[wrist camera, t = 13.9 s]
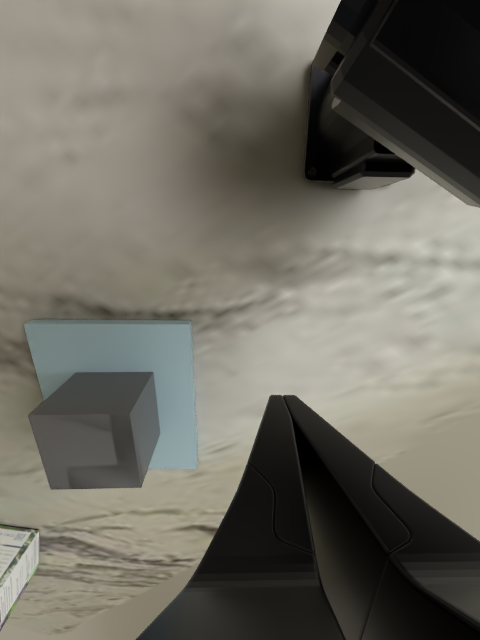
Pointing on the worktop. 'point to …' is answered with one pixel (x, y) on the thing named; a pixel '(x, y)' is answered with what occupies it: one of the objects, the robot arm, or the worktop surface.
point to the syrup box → (16, 565)
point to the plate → (127, 370)
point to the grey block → (98, 430)
